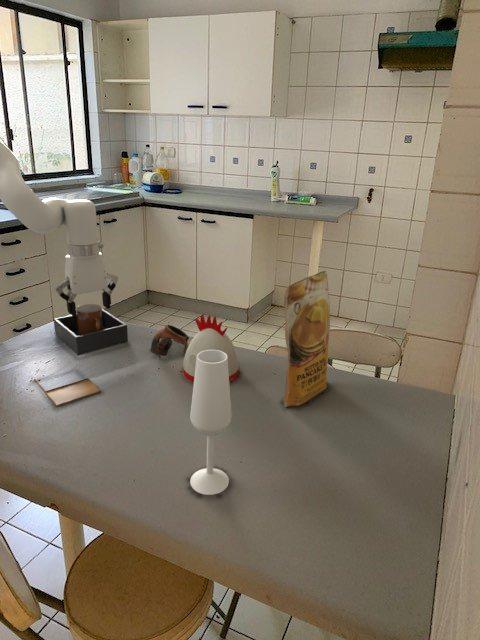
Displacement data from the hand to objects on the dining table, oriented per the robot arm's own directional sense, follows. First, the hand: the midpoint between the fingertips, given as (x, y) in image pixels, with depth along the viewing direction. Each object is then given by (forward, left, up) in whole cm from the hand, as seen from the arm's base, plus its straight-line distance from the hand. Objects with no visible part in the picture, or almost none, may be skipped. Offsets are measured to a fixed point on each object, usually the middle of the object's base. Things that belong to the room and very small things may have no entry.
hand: (90, 310), depth 126 cm
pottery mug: (+19, +13, -9) cm, 24 cm away
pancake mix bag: (+55, +27, -9) cm, 62 cm away
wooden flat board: (+20, -15, -9) cm, 27 cm away
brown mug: (+1, 0, -8) cm, 8 cm away
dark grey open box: (0, 0, -9) cm, 9 cm away
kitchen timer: (+34, +16, -9) cm, 38 cm away
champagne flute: (+65, -8, -9) cm, 66 cm away
